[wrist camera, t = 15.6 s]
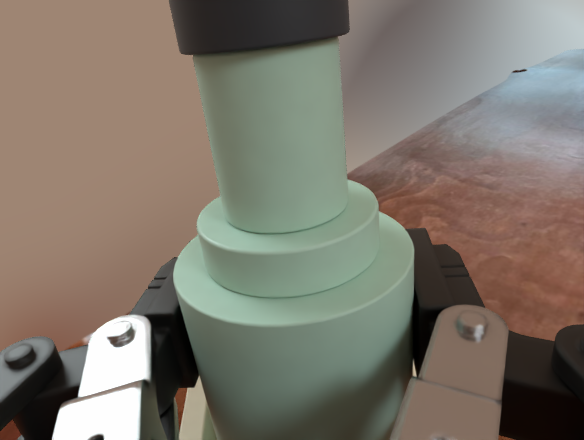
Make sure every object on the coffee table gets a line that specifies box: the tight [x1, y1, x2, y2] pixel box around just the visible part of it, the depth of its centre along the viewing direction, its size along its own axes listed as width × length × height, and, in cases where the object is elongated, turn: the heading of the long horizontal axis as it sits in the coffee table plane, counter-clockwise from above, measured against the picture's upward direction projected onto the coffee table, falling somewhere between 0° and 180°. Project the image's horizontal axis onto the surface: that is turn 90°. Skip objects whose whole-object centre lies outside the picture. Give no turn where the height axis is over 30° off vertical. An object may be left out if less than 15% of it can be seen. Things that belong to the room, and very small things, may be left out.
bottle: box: [169, 0, 414, 440], centre depth 10 cm, size 5×5×15 cm
